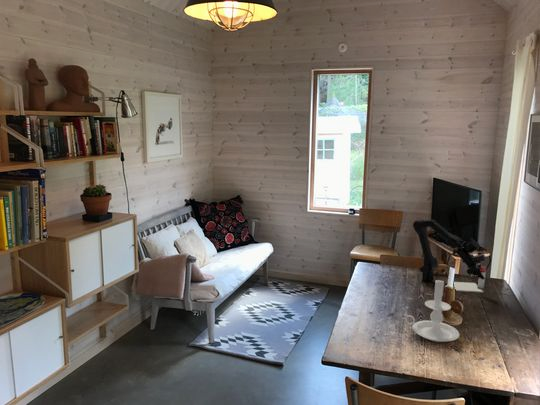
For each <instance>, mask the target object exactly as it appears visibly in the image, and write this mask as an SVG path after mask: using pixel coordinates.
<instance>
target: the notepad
mask: <svg viewBox="0 0 540 405" xmlns="http://www.w3.org/2000/svg"><path fill="white" fill-rule="evenodd" d="M453 282H454V287H455V289H456V291H455V292H463V293H479V294H484V292H485V291H484V290H480V289H478V288H477V286H478V283H476V282H463V281H462V282H461V281H453Z"/></svg>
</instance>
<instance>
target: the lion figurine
mask: <svg viewBox="0 0 540 405" xmlns="http://www.w3.org/2000/svg"><path fill="white" fill-rule="evenodd" d="M437 270H444V272H442V273H443V274H444V275H445V274H446V273H447V274H446V276H449V275H448V272H449V270H450V268H449V266H448V265H447V264H443V263H439V262H438V266H437V268H436V269H435V270H434V271H432V272H433V274H437Z"/></svg>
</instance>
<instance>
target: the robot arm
mask: <svg viewBox="0 0 540 405" xmlns="http://www.w3.org/2000/svg"><path fill="white" fill-rule="evenodd" d="M412 226H413V229H414V231H415V233H416V234H417V235H418V238H419V243H420V246H421V250H422V253H423V254H422V255H423V262H422V263H423V266H421V267H419V272H421V275H420V278H419V279H420V280H421V282H422V283H434V272H433V271H434V270H435V269H436V268H437V266H438V263H439V262H438V258H437V257H435V256H433V254H432V250H431V246H430V242H429V238H428V235H427V231H428V230H427V229H428V227H429V228H431V230H433V231H434V232H436V233H437V234H438V235H439V236H440V237H441V238H443V239H444V240H445V242H446V244H447V245H448V246H449V247H450V248H451V249H453V250H452V255H456V254H457V256H458V257H459V258H460V259H461V260H462V263H463V264H465V265H466V266H467V269H466V273H467V275H473V276H475V277H478V279H479V278H481V279H485V280H486V275H485V278H484V276H483V275H482V273H481V272H480V266H483V264H482V262H485V261H486V255H485V253H482V252H481V251H479V252H478V253H477V254H476V255H474V254H472V253H474V252H475V251H476V250H478V249H480V248H481V247H480V244H479V242H478V241H477V240H475V239H474V238H472V237H471V238H470V239H468V240H466V241H465V240H463V239H462V238H461V237H459V236H457V235H455V234H452V233H451V232H450V231H448V230H447V229H446V228H445V227H444V226H442V225H441V224H440V223H438V221H436V220H435V219H430V220H429V219H428V220H424V219H417V220H415V221H413V223H412ZM456 248H457V249H456Z"/></svg>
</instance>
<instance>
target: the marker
mask: <svg viewBox="0 0 540 405" xmlns="http://www.w3.org/2000/svg"><path fill="white" fill-rule="evenodd" d="M486 271H487V267H486V266H483V265H481V266H480V272H481V273H482V275H483V276H484V278H485V279H481V278H479V277H478V280H477V282H478V283H477V285H478V286H477V288H478V289H480V290H482V291H484V290H485V282H486V281H485V280H486V277H485V276H486V273H487V272H486Z"/></svg>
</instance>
